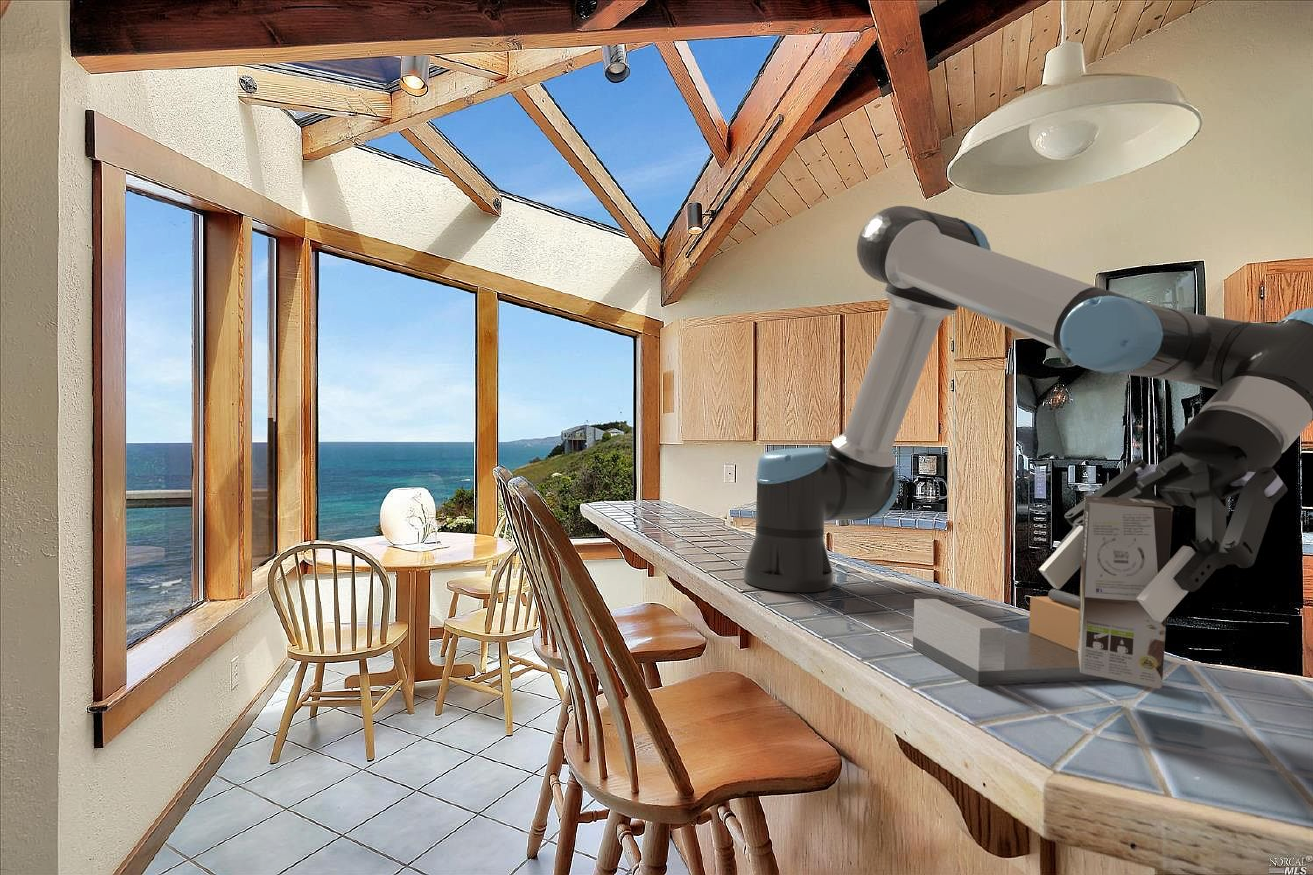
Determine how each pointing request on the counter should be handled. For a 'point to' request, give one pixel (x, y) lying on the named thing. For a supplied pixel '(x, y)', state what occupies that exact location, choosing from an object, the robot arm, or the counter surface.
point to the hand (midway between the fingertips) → (1094, 593)
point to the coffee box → (1122, 588)
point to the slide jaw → (1056, 618)
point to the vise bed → (1020, 662)
